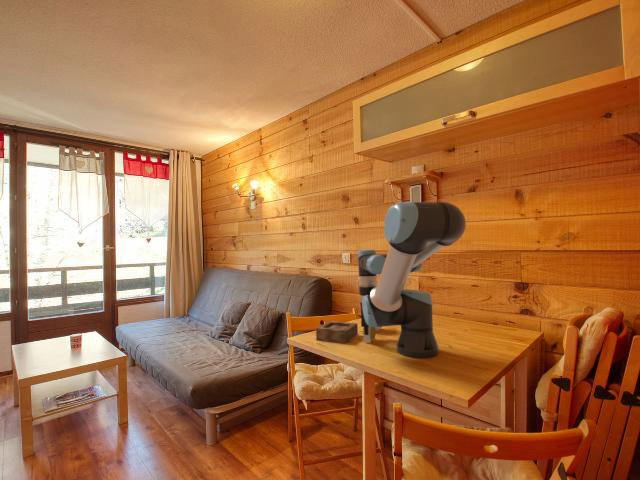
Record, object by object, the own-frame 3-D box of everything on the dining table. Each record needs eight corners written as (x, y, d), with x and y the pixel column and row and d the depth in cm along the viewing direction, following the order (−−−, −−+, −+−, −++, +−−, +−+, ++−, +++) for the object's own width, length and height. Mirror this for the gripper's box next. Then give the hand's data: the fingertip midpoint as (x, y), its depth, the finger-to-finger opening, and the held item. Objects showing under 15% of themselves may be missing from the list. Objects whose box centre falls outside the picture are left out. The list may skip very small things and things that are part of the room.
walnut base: (357, 334, 149) (357, 323, 149) (346, 343, 137) (345, 331, 137) (330, 331, 155) (329, 320, 155) (316, 339, 143) (316, 328, 143)
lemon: (360, 340, 140) (359, 322, 140) (369, 338, 143) (368, 320, 143) (370, 343, 135) (369, 324, 135) (378, 340, 139) (378, 322, 139)
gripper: (366, 283, 149) (368, 333, 149) (351, 288, 133) (353, 345, 133) (382, 283, 146) (384, 335, 146) (369, 288, 130) (371, 347, 129)
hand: (369, 340), depth 139 cm, fingers closed on lemon, 5 cm apart
